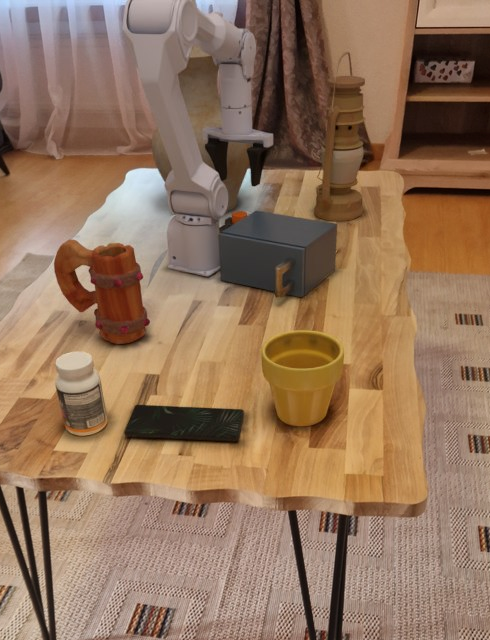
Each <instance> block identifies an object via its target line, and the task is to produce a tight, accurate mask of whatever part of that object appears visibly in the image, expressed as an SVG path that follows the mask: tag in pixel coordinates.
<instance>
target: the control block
mask: <svg viewBox="0 0 490 640" xmlns="http://www.w3.org/2000/svg"><path fill="white" fill-rule="evenodd" d="M233 224H234V223H232V216H229V217H227V218H225V219H224V224H223V225H220V226H219V230H220V233H222V231H224V230H225V229H227V228H228V227H230V226H232V225H233Z"/></svg>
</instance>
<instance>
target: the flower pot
mask: <svg viewBox="0 0 490 640" xmlns="http://www.w3.org/2000/svg"><path fill="white" fill-rule="evenodd" d="M260 356H261V369H262V372H261V373H262V375H263V378H264V379H265V381H266V382H268V384H269V389H270V392H271V396H272V400H273V404H274V407H275V408H274V409H275V412H276V415H277V418H278V419H279V420H280V421H281V422H283V423H284V424H286V425H288V426H293V427H309V426H313V425H316V424H319V423H320V422H322V421H323V420H324V419H325V417H326V416H327V414H328V411H329V407H330V402H331V400H332V397H333V394H334V390H335V387H336V383H337V382H339V380H340V379H341V377H342V376H343V371H344V362H345V348H344V345H343V344H342V343H341V341H340V340H339V339H338V338H336V337H335V336H333V335H331V334H329V333H325V332H322V331H318V330H310V329H309V330H308V329H299V330H298V329H296V330H290V331H285V332H280V333H278V334H275V335H273V336H272V337H270V338H269V339H267V340H266V342H264V344H263V345H262V347H261V353H260Z"/></svg>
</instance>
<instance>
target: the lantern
mask: <svg viewBox="0 0 490 640" xmlns="http://www.w3.org/2000/svg"><path fill="white" fill-rule="evenodd" d="M346 55H347V56H348V62H349V74H350V75H339V76H338V71H339V67H340V64H341V62H342V60H343V58H344V57H345V56H346ZM335 67H336V68H335V72H334V77H330V78H329V79H327V86H328V87H330V88H331V89H330V93H329V94H328V95H327V104H326V106H325V110H326V114H325V117H324V118H323V119H322V121H323V122H324V123H326V133H325V135H326V136H325V140H324V141H323V142H322V146H321V148H320V153H319V154H318V156H319V160H320V163H321V164H320V167H319V171H318V174H317V176H316V178H317V179H318V180H320V181H322V183H321V184H319V185H317V186H316V187H315V190H316V191H315V192H316V193H315V195H316V196H315V206H314V210H313V214H314V216H315V217H317V218H319V219H322V220H323V221H330V222H346V221H352V220H356V219H357V218H360V217H361V216H363V214H364V208H363V194H362V192H360V191H358V190H356V189H353V188H352V187H355V186H357V184H358V178H357V177H358V173H359V170H360V168H361V166H362V165H361V164H362V161H363V158H364V153H365V152H364V147H363V145H364V141H363V140H362V139H360V135H359V134H358V133H359V128H360V125H361V124H362V123H363V122H365V121H366V117H365V116H364V109H365V105H364V94H363V92H362V88H361V87H363V86H365V85H366V78H365V77H361V76H357V75H354V74H353V67H352V59H351V53H350V52H349V50H346V51H344V52H342V53H341V55H340V56H339V58H338V60H337V64H336V66H335ZM321 171H322V178H320V177H319V176H320V173H321Z"/></svg>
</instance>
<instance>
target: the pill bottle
mask: <svg viewBox="0 0 490 640" xmlns="http://www.w3.org/2000/svg"><path fill="white" fill-rule="evenodd" d="M54 364H55V369H56V372H57V374H58V375H57V376H56V378H55V383H54V385H55V389H56V393H57V398H58V402H59V406H60V411H61V414H62V419H63V424H64V427H65V429H66V431H67V432H68V433H70V434H72V435H75V436H80V437H81V436H90V435H95V434H96V433H99V432H100V431H102V430H103V429H105V427H106V425H107V424H108V415H107V409H106V403H105V398H104V393H103V392H104V391H103V387H102V379H101V376H100V373H98V371H97V370H96V369H94V368H95V364H94V360H93V356H92V355H91V354H90V353H88V352H86V351H82V350H81V351H80V350H79V351H78V350H75V351H70V352H67V353H66V352H65V353H63V354H61V355H60V356H58V357H57V358H56V359H55V363H54Z"/></svg>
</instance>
